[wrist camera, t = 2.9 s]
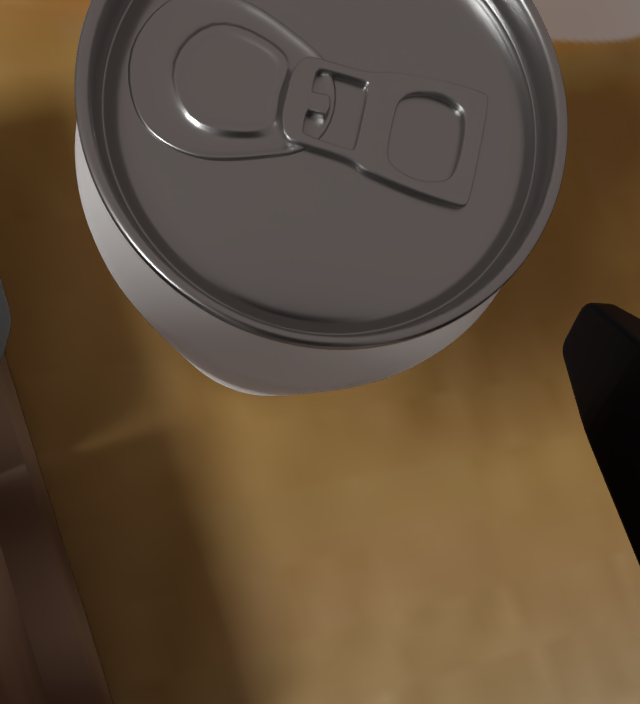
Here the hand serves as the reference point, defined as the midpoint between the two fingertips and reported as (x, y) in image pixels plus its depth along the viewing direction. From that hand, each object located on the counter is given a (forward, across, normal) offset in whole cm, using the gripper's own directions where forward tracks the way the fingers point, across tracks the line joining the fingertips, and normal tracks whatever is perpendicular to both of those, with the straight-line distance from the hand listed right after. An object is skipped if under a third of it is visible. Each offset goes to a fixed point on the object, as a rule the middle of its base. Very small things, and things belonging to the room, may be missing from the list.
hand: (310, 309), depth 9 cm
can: (+8, 0, +5) cm, 10 cm away
